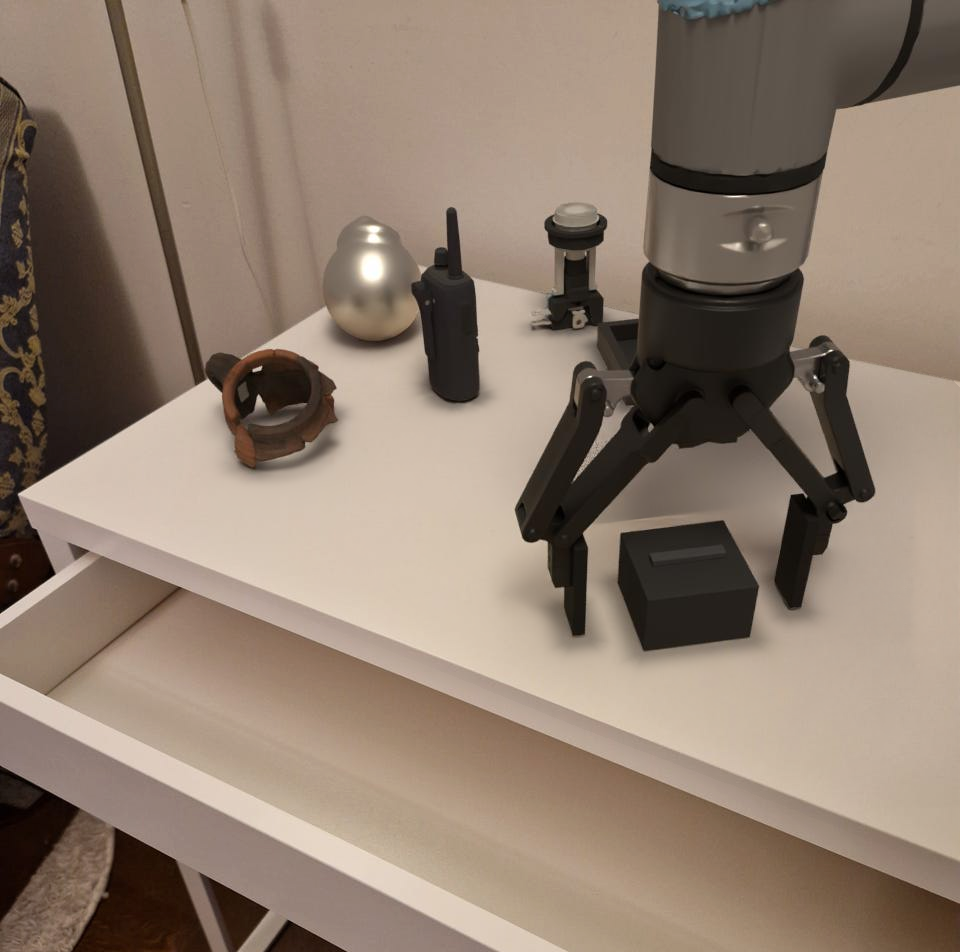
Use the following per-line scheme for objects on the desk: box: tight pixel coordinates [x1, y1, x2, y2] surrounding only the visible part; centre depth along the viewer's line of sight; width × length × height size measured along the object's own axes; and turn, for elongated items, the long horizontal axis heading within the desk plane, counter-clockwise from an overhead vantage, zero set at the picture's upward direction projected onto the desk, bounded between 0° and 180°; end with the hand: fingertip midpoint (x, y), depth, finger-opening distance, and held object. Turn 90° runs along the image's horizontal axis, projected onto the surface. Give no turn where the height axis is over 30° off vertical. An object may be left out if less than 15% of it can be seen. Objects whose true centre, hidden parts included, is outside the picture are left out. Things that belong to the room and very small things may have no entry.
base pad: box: [596, 318, 639, 406], centre depth 83 cm, size 11×11×2 cm
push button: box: [530, 201, 608, 331], centre depth 88 cm, size 7×5×10 cm
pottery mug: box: [204, 348, 339, 469], centre depth 77 cm, size 12×10×8 cm
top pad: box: [617, 519, 760, 652], centre depth 60 cm, size 6×6×4 cm
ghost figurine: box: [321, 215, 422, 342], centre depth 88 cm, size 9×10×10 cm
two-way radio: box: [411, 206, 481, 402], centre depth 78 cm, size 6×4×15 cm
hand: (681, 607), depth 61 cm, fingers open, 13 cm apart
